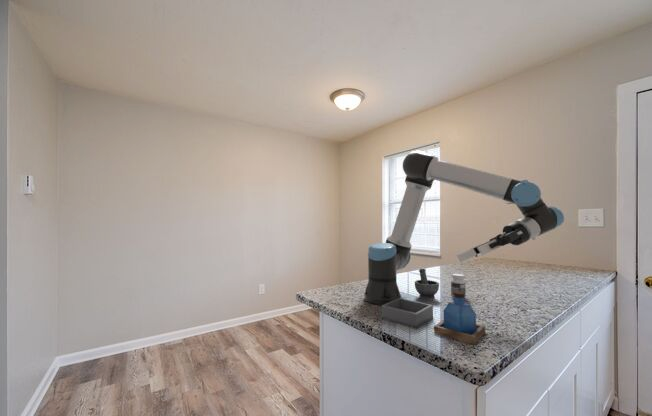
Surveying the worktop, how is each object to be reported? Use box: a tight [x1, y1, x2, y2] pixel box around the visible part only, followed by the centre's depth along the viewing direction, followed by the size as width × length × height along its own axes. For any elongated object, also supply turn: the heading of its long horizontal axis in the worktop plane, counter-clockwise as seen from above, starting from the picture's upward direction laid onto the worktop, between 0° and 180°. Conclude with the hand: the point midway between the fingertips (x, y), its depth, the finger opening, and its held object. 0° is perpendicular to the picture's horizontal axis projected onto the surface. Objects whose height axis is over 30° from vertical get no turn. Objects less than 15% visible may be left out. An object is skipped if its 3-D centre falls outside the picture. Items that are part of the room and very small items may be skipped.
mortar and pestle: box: [414, 268, 440, 301], centre depth 120 cm, size 11×9×12 cm
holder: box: [433, 319, 486, 345], centre depth 83 cm, size 11×11×2 cm
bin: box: [381, 297, 434, 330], centre depth 95 cm, size 13×13×4 cm
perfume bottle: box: [443, 291, 477, 335], centre depth 83 cm, size 6×6×12 cm
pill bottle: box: [450, 273, 467, 299], centre depth 121 cm, size 6×6×10 cm
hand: (468, 255), depth 93 cm, fingers open, 13 cm apart
